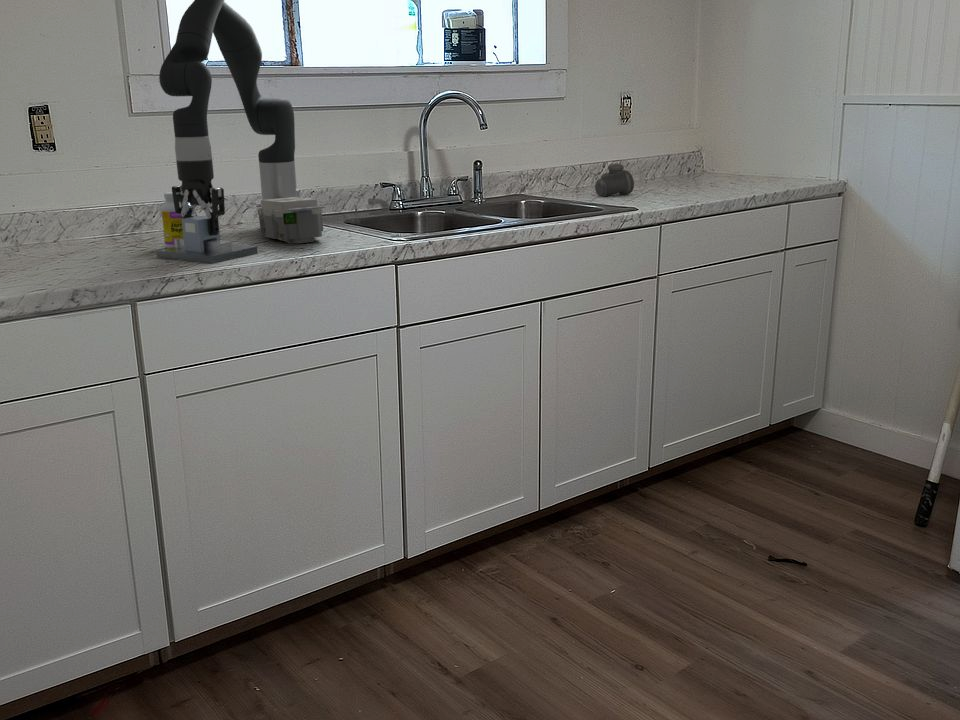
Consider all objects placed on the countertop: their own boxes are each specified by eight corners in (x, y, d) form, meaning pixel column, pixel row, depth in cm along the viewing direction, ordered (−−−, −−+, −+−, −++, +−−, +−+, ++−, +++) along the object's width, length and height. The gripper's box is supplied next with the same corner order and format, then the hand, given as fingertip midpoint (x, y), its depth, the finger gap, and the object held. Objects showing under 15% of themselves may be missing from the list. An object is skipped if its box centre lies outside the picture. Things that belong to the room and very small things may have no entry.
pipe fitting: (619, 191, 309) (619, 161, 305) (635, 195, 303) (635, 164, 299) (591, 198, 304) (590, 167, 300) (606, 202, 298) (605, 171, 293)
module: (205, 246, 210) (202, 215, 208) (221, 247, 207) (218, 216, 205) (184, 250, 205) (181, 219, 203) (200, 252, 202) (197, 220, 200)
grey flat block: (204, 247, 217) (202, 232, 216) (257, 253, 209) (256, 237, 208) (156, 257, 206) (155, 241, 205) (211, 263, 197) (209, 247, 196)
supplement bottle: (169, 250, 214) (163, 194, 210) (162, 246, 219) (155, 192, 216) (198, 247, 218) (192, 192, 214) (190, 243, 223) (184, 190, 219)
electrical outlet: (287, 246, 213) (283, 203, 211) (252, 239, 237) (248, 199, 235) (335, 241, 218) (331, 199, 216) (296, 234, 243) (292, 196, 240)
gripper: (230, 157, 200) (237, 233, 204) (184, 156, 207) (192, 229, 212) (204, 160, 193) (212, 238, 198) (157, 158, 201) (166, 234, 205)
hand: (202, 233), depth 205 cm, fingers open, 6 cm apart
